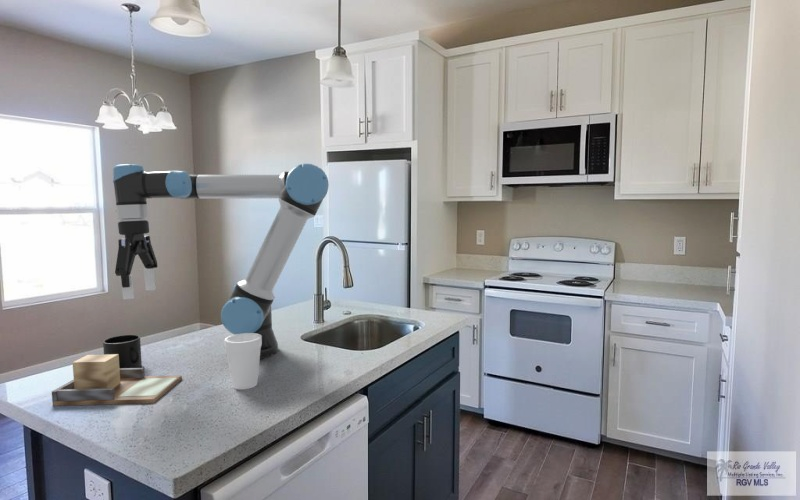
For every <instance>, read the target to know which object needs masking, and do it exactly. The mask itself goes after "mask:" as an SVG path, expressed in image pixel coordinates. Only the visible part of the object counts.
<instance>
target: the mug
mask: <svg viewBox="0 0 800 500" xmlns="http://www.w3.org/2000/svg"><path fill="white" fill-rule="evenodd" d="M102 345H103V347H102V349H103V355H105V354H119V368H142V366H143V364H142V363H143V362H142V345H141V336H140V335H137V334H126V335H125V334H123V335H117V336H112V337H109V338H106V339H104V340H103V341H102Z"/></svg>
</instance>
